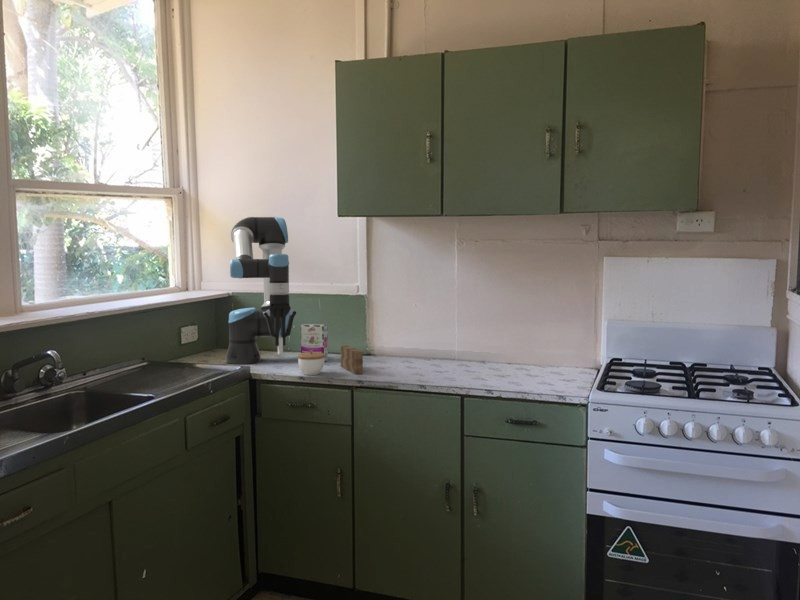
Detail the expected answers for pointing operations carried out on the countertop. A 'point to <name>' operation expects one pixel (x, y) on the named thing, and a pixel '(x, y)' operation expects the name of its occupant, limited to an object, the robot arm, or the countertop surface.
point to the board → (352, 359)
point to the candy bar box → (314, 339)
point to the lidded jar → (311, 362)
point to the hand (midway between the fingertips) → (280, 353)
